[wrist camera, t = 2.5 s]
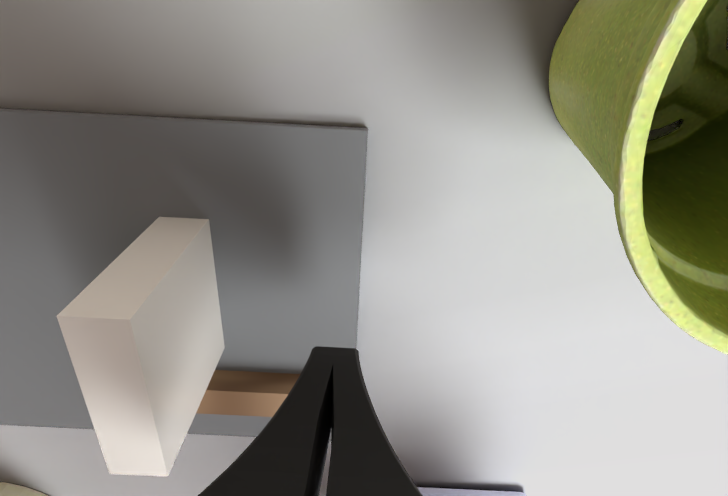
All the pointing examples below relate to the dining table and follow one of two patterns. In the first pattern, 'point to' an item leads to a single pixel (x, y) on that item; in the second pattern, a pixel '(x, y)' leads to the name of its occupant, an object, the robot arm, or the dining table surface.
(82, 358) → the tile
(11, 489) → the reusable coffee cup
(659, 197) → the plant pot
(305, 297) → the mat
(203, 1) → the dining table surface
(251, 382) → the wooden plank
